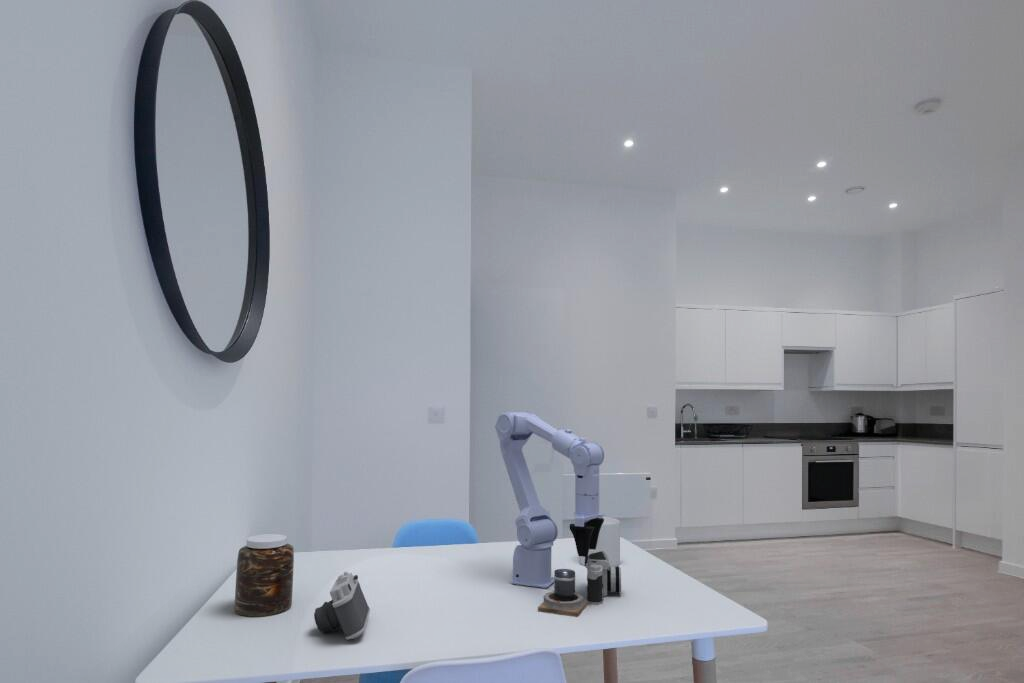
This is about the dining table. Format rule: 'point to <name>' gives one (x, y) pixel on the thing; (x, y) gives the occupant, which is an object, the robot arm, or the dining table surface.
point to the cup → (608, 541)
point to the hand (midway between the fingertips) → (587, 552)
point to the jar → (264, 576)
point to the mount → (563, 605)
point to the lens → (564, 585)
